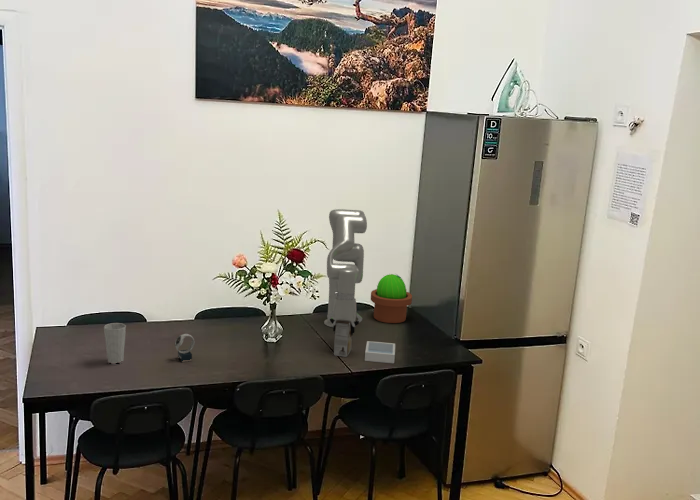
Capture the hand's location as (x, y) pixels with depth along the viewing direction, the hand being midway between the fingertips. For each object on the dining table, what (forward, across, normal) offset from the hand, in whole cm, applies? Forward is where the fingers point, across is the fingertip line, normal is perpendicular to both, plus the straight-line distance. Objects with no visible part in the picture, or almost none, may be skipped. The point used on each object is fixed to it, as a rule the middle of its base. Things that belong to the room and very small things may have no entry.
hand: (343, 333), depth 277 cm
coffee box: (+10, 0, 0) cm, 10 cm away
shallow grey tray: (+9, +17, 0) cm, 19 cm away
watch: (+10, -65, -24) cm, 70 cm away
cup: (+10, -91, -32) cm, 97 cm away
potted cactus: (+10, +20, +56) cm, 60 cm away
